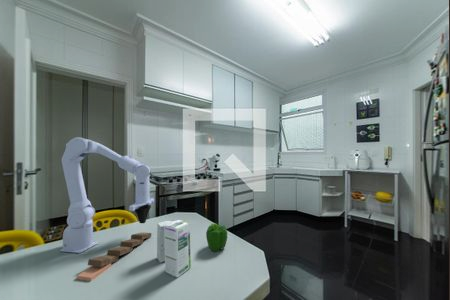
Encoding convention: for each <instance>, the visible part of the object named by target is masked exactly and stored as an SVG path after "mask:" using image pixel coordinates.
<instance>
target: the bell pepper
mask: <svg viewBox="0 0 450 300" xmlns="http://www.w3.org/2000/svg"><path fill="white" fill-rule="evenodd" d="M205 234H206V235H205V237H206V242H207V246H208V249H209V250H210V251H211V252H218V251H220V250H224V249H225V248H226V245H227V240H228V230H227V227H226V225H222V226H221V225H219V224H217V223H215V222H212V223H211V224H210V225H209V226H208V227H207V230H206V232H205Z"/></svg>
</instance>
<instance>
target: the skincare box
mask: <svg viewBox="0 0 450 300" xmlns="http://www.w3.org/2000/svg"><path fill="white" fill-rule="evenodd" d="M175 221H176V220H173V219H172V220H165V221H162V222H161V221H160V222H157V229H156V230H157V231H156V233H157V234H156V239H157V241H156V244H157V245H156V258H157V260H158V262H159V263H165V237H164V226H165V225H168V224H170V223H172V222H175Z"/></svg>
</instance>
